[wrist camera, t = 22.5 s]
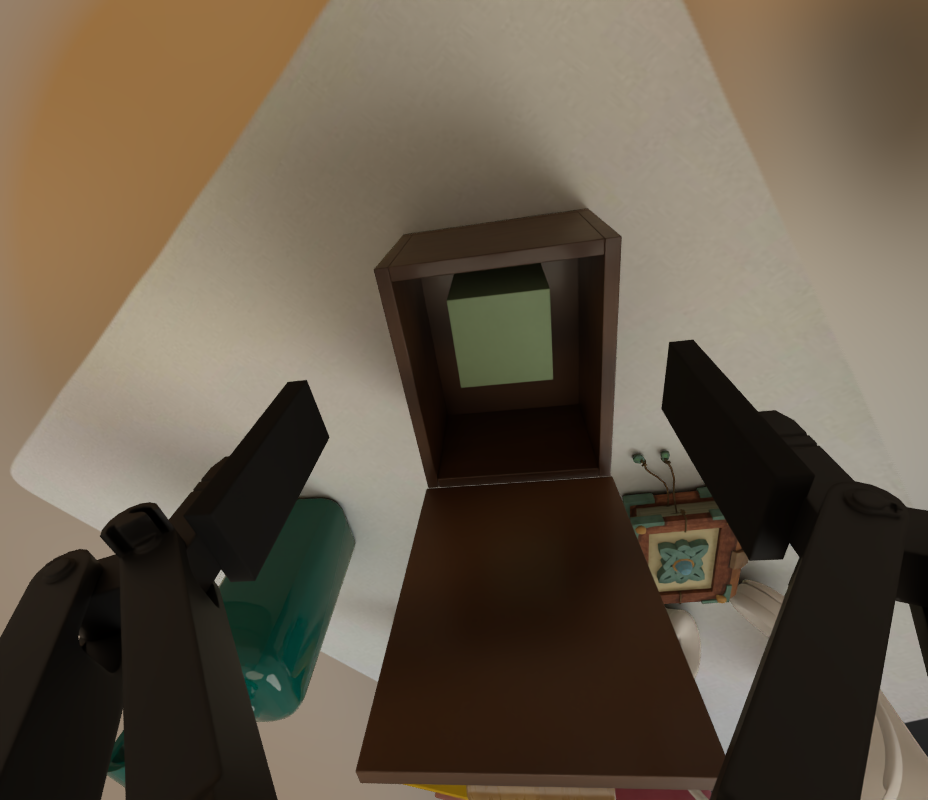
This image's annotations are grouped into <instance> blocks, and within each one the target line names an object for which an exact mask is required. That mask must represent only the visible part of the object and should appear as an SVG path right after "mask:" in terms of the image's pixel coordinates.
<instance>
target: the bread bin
mask: <svg viewBox="0 0 928 800" xmlns="http://www.w3.org/2000/svg"><path fill="white" fill-rule="evenodd" d="M621 239H622V237H621V236H620V235H619V234H618V233H617V232H616V231H614V230H613V229H612V228H611V227H610V226H608V225H607V224H606V223H605V222H604V221H602V220H601V219H600V218H599V217H598V216H597V215H595V214H594V213H593V212H592V211H591V210H589V209H588V208H587V209H580V210H573V211H566V212H559V213H552V214H545V215H538V216H531V217H524V218H517V219H510V220H502V221H495V222H488V223H481V224H474V225H467V226H460V227H453V228H446V229H439V230H432V231H425V232H418V233H411V234H404V235H403V236H402V237H401V238H400V239H399V240H398V242H397V243H396V244H395V245H394V246H393V247H392V249H391V250H390V251H389V252H388V253H387V254H386V256H385V257H384V258H383V259H382V260H381V262H380V263H379V264H378V265H377V266H376V267H375V269H374V273H375V277H376V281H377V285H378V289H379V293H380V297H381V301H382V305H383V309H384V313H385V317H386V321H387V325H388V329H389V333H390V337H391V341H392V344H393V348H394V352H395V356H396V360H397V364H398V368H399V372H400V376H401V380H402V384H403V388H404V392H405V396H406V400H407V404H408V408H409V412H410V416H411V420H412V424H413V428H414V432H415V436H416V440H417V444H418V448H419V452H420V456H421V460H422V464H423V468H424V472H425V476H426V480H427V484H428V487H429V488H436V487H453V486H468V485H483V484H498V483H513V482H528V481H543V480H558V479H573V478H588V477H598V476H599V477H604V476H611V457H612V435H613V413H614V391H615V370H616V348H617V326H618V304H619V283H620V261H621ZM535 263H541V265H542V268H543V271H544V274H545V277H546V279H547V282H548V285H549V288H550V306H551V334H552V361H553V379H552V380H541V381H530V382H519V383H508V384H497V385H486V386H476V387H465V388H461V384H460V378H459V372H458V366H457V360H456V354H455V348H454V342H453V336H452V330H451V324H450V318H449V312H448V306H447V298H448V294H449V291H450V287H451V283H452V279H453V276H454V274H457V273H465V272H473V271H481V270H489V269H496V268H504V267H512V266H520V265H528V264H535Z"/></svg>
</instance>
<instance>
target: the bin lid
mask: <svg viewBox="0 0 928 800" xmlns="http://www.w3.org/2000/svg"><path fill="white" fill-rule="evenodd" d="M724 759H725V753H724V751H723V748H722V746H721V743H720V741H719V739H718V736H717V734H716V731H715V729H714V726H713V724H712V721H711V719H710V716H709V714H708V711H707V709H706V706H705V704H704V702H703V699H702V697H701V694H700V692H699V689H698V687H697V684H696V682H695V679H694V677H693V674H692V672H691V669H690V667H689V665H688V662H687V660H686V657H685V655H684V652H683V650H682V647H681V645H680V642H679V640H678V637H677V635H676V632H675V630H674V628H673V625H672V623H671V620H670V618H669V615H668V613H667V610H666V608H665V605H664V603H663V600H662V598H661V595H660V593H659V591H658V588H657V586H656V583H655V581H654V578H653V576H652V573H651V571H650V568H649V566H648V563H647V561H646V558H645V556H644V554H643V551H642V549H641V546H640V544H639V541H638V539H637V536H636V534H635V531H634V529H633V526H632V524H631V521H630V519H629V517H628V514H627V512H626V509H625V507H624V504H623V502H622V499H621V497H620V494H619V492H618V489H617V487H616V484H615V482H614V480H613V477H612V476H611V477H596V478H581V479H565V480H550V481H535V482H520V483H505V484H490V485H475V486H460V487H445V488H429V489H427V490H426V494H425V498H424V502H423V506H422V510H421V514H420V517H419V521H418V525H417V529H416V533H415V537H414V541H413V545H412V549H411V553H410V557H409V561H408V565H407V569H406V573H405V577H404V581H403V585H402V589H401V593H400V597H399V601H398V605H397V609H396V613H395V617H394V621H393V625H392V629H391V633H390V637H389V641H388V645H387V648H386V652H385V656H384V660H383V664H382V668H381V672H380V676H379V680H378V684H377V688H376V692H375V696H374V700H373V705H372V708H371V712H370V716H369V720H368V724H367V728H366V732H365V736H364V740H363V744H362V748H361V752H360V756H359V760H358V764H357V768H356V773H357V776H358V778H359V781H360V782H361V783H382V784H383V783H384V784H430V785H466V790H467V797H468V800H616V794H615V788H623V789H672V790H713V788H714V785H715V783H716V780H717V777H718V775H719V772H720V769H721V767H722V764H723V761H724Z"/></svg>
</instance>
